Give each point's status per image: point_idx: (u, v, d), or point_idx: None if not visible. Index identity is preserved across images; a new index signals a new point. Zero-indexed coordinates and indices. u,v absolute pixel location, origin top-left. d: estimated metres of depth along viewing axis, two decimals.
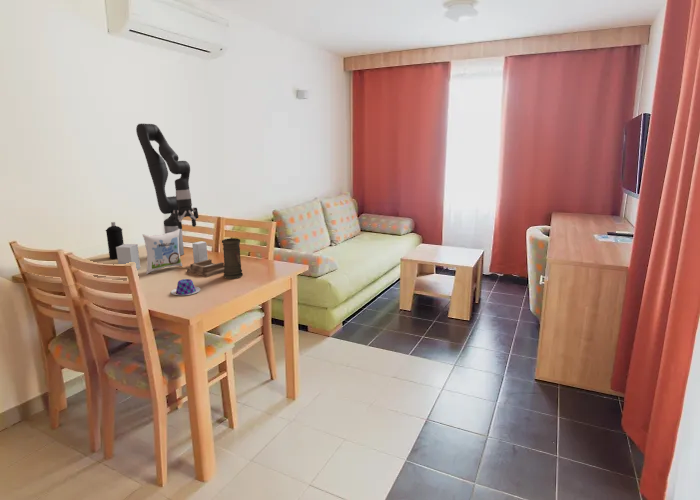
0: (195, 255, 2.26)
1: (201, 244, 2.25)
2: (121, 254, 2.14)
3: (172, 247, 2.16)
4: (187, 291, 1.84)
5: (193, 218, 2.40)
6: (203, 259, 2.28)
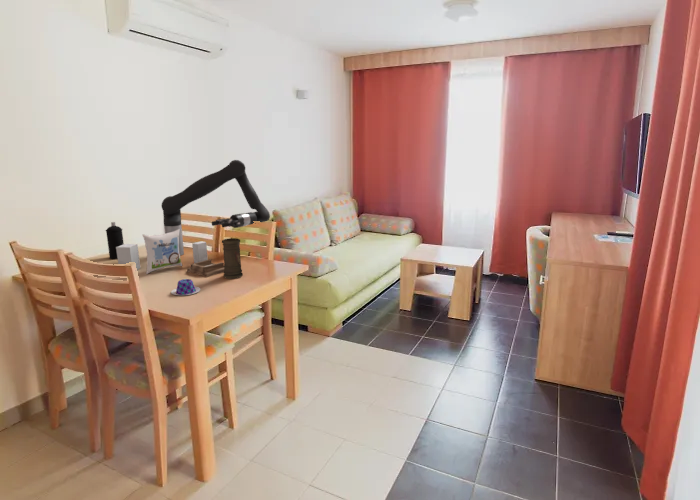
0: (195, 255, 2.26)
1: (201, 244, 2.25)
2: (121, 254, 2.14)
3: (172, 247, 2.16)
4: (187, 291, 1.84)
5: (219, 224, 2.40)
6: (203, 259, 2.28)
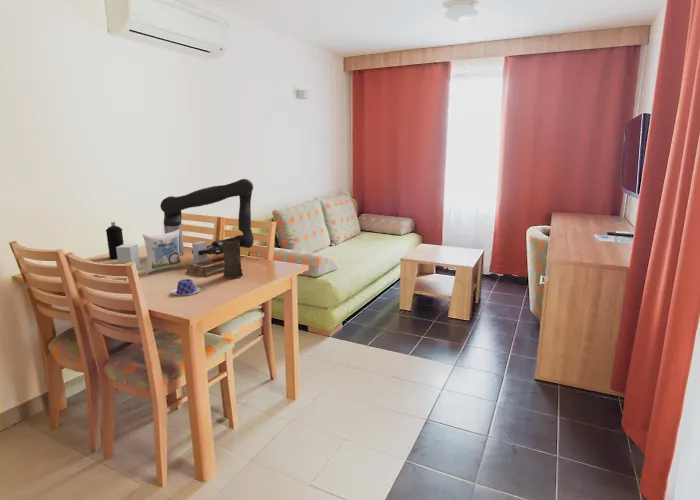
0: (195, 255, 2.26)
1: (201, 244, 2.25)
2: (121, 254, 2.14)
3: (172, 247, 2.16)
4: (188, 291, 1.84)
5: None
6: (203, 259, 2.28)
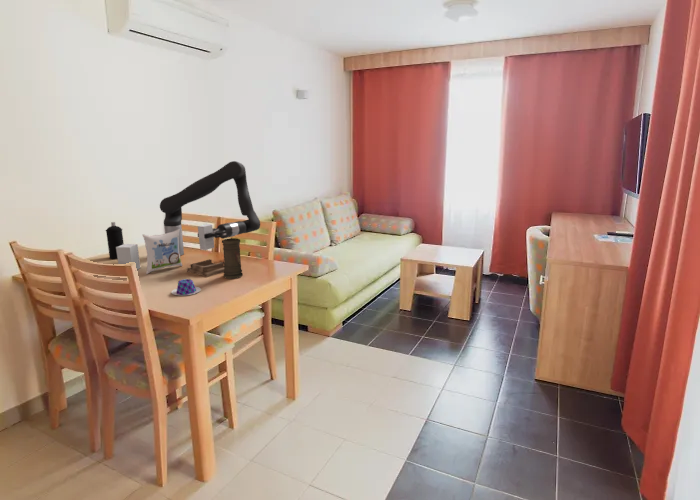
0: (201, 238, 2.15)
1: (207, 227, 2.15)
2: (121, 254, 2.14)
3: (172, 247, 2.16)
4: (188, 291, 1.84)
5: None
6: (209, 243, 2.17)
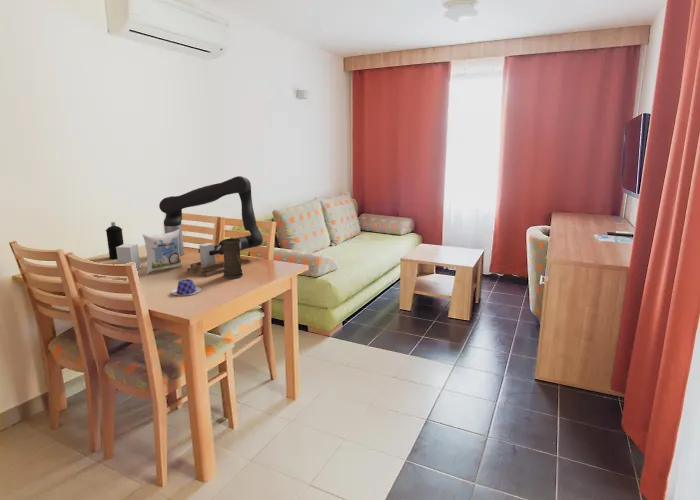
0: (202, 257, 2.14)
1: (208, 246, 2.14)
2: (121, 254, 2.14)
3: (172, 247, 2.16)
4: (188, 291, 1.84)
5: None
6: (210, 262, 2.16)
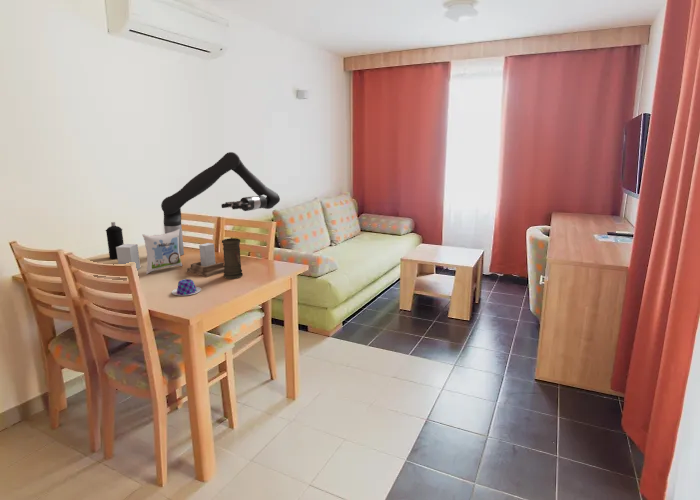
0: (202, 257, 2.14)
1: (208, 246, 2.14)
2: (121, 254, 2.14)
3: (172, 247, 2.16)
4: (189, 291, 1.84)
5: None
6: (210, 262, 2.16)
